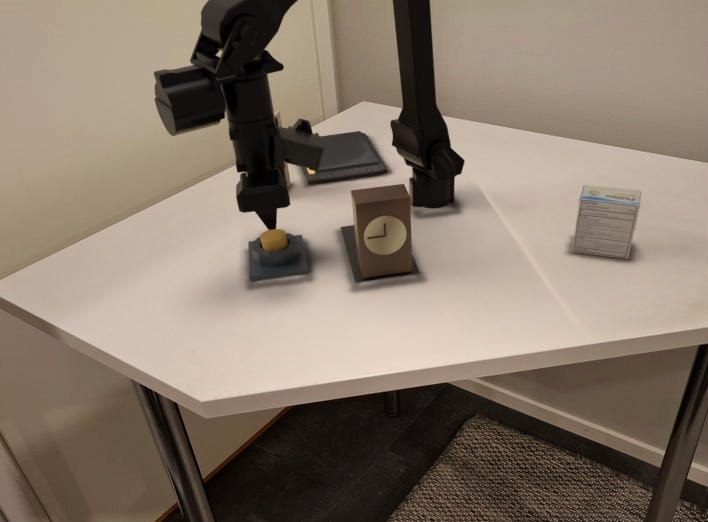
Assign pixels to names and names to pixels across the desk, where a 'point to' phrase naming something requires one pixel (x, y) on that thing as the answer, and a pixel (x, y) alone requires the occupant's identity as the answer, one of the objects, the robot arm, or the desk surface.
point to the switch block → (277, 259)
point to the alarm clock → (382, 230)
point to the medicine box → (606, 221)
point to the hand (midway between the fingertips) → (272, 228)
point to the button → (274, 240)
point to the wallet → (346, 159)
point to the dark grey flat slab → (351, 249)
